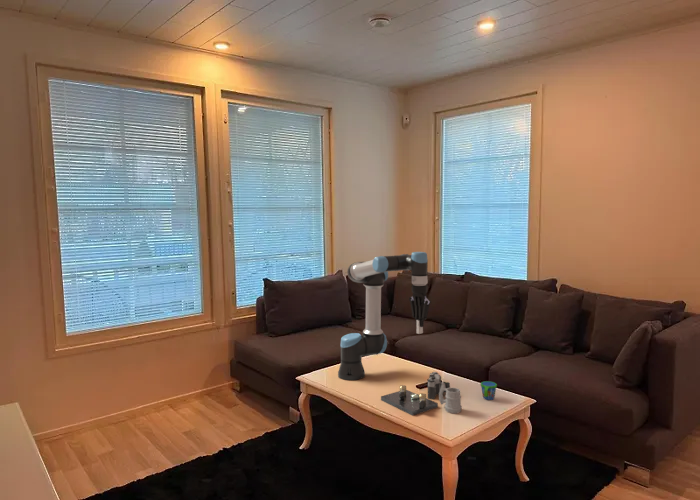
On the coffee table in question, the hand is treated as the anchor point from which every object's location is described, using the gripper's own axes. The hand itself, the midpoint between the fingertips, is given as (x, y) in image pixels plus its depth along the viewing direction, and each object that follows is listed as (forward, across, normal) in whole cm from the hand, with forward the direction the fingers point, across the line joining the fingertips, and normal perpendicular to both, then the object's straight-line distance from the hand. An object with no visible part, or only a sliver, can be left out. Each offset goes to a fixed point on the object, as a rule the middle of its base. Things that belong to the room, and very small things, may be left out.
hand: (419, 333), depth 240 cm
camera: (+35, -3, +16) cm, 38 cm away
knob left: (+32, -9, -3) cm, 34 cm away
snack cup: (+35, +16, +31) cm, 49 cm away
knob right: (+32, +5, -3) cm, 33 cm away
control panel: (+34, -2, -5) cm, 35 cm away
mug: (+35, +14, +6) cm, 38 cm away
